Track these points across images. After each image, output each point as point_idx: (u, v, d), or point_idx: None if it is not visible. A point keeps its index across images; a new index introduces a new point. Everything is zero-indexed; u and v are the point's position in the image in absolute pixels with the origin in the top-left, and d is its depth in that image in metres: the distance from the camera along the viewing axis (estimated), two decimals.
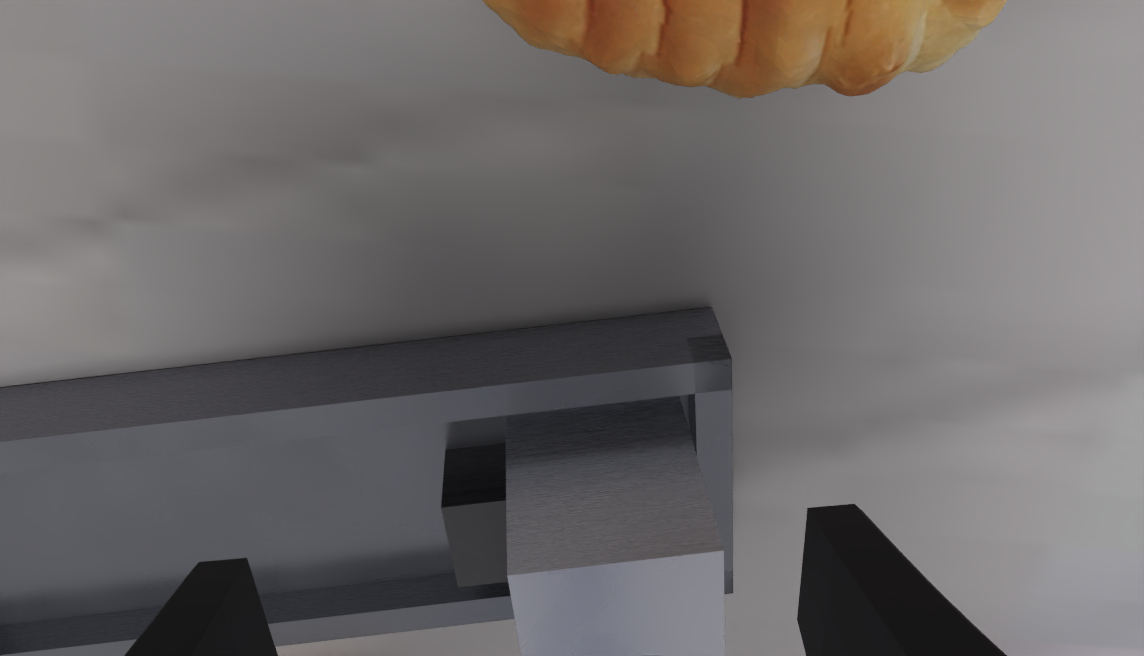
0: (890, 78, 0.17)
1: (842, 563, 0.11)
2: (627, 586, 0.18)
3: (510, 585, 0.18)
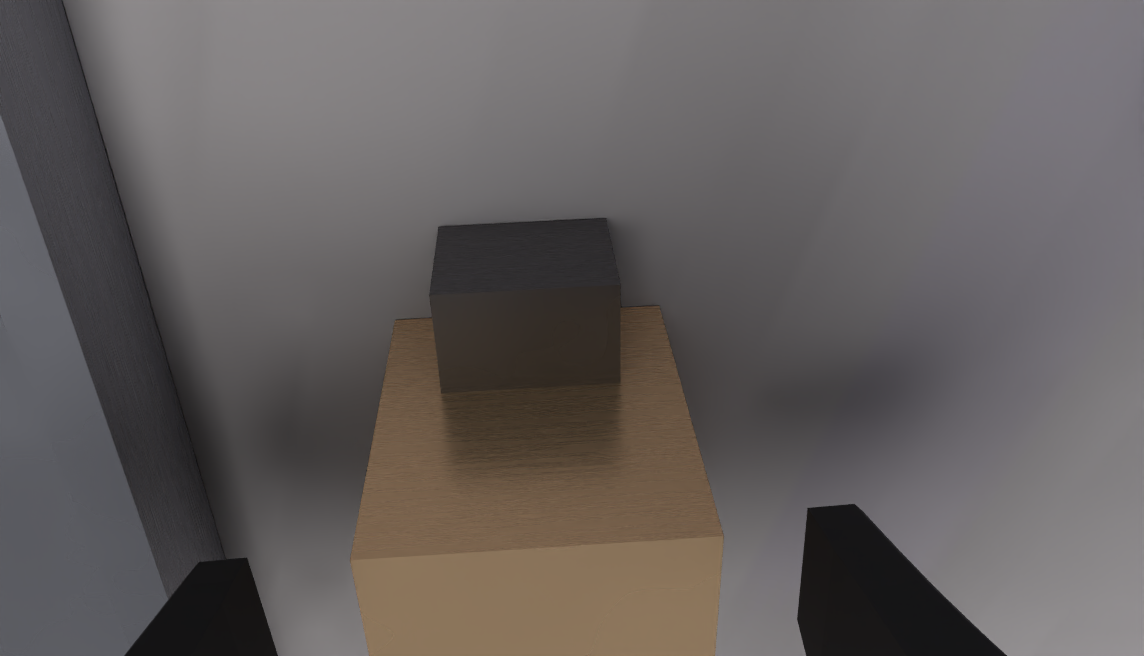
0: None
1: (842, 563, 0.11)
2: None
3: None
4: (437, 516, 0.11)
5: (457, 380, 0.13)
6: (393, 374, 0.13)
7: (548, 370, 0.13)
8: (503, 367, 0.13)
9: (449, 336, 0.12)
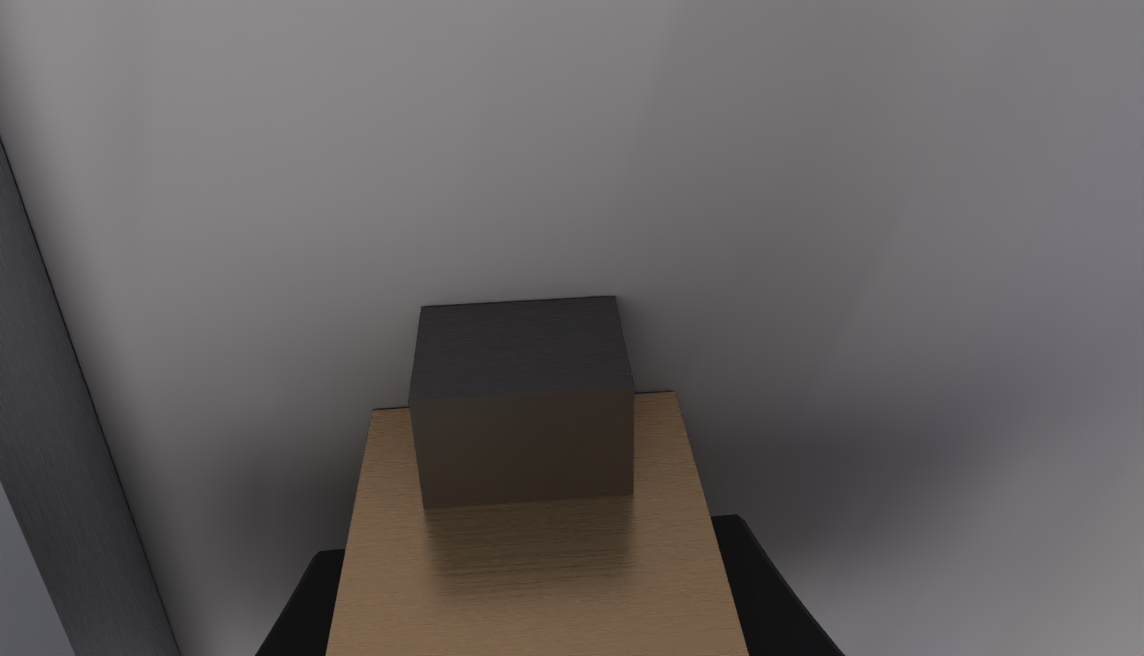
0: None
1: None
2: None
3: None
4: None
5: (442, 494, 0.11)
6: (368, 483, 0.11)
7: (549, 482, 0.11)
8: (496, 479, 0.11)
9: (432, 446, 0.10)
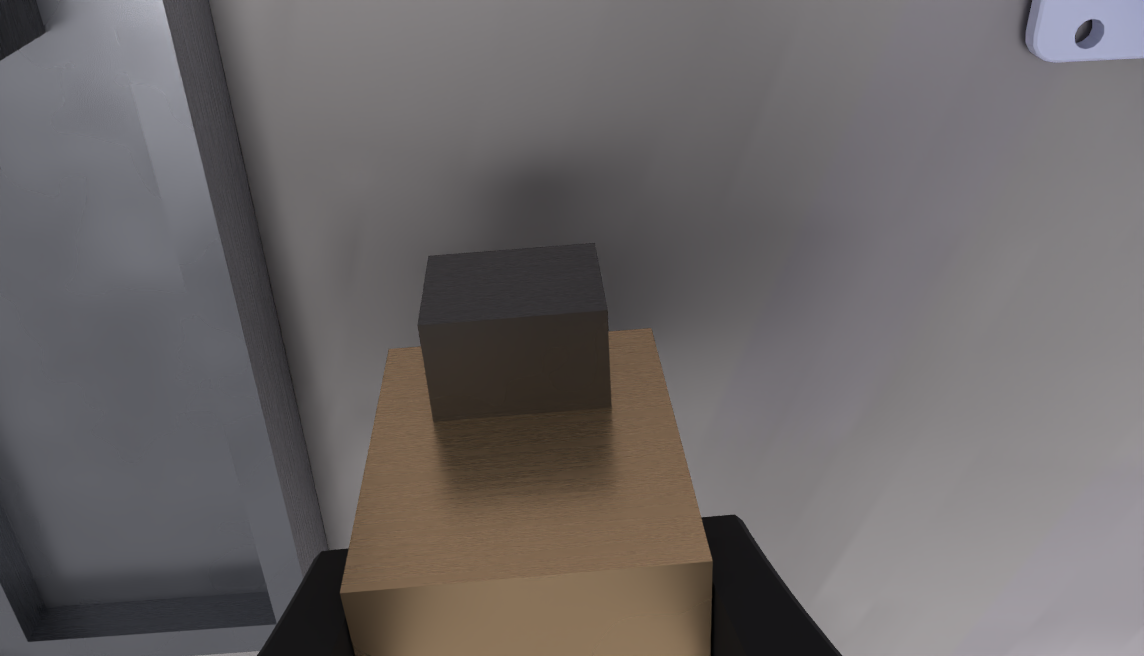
0: None
1: None
2: None
3: None
4: (426, 546, 0.11)
5: (448, 408, 0.13)
6: (386, 404, 0.13)
7: (539, 396, 0.13)
8: (494, 395, 0.13)
9: (439, 365, 0.12)
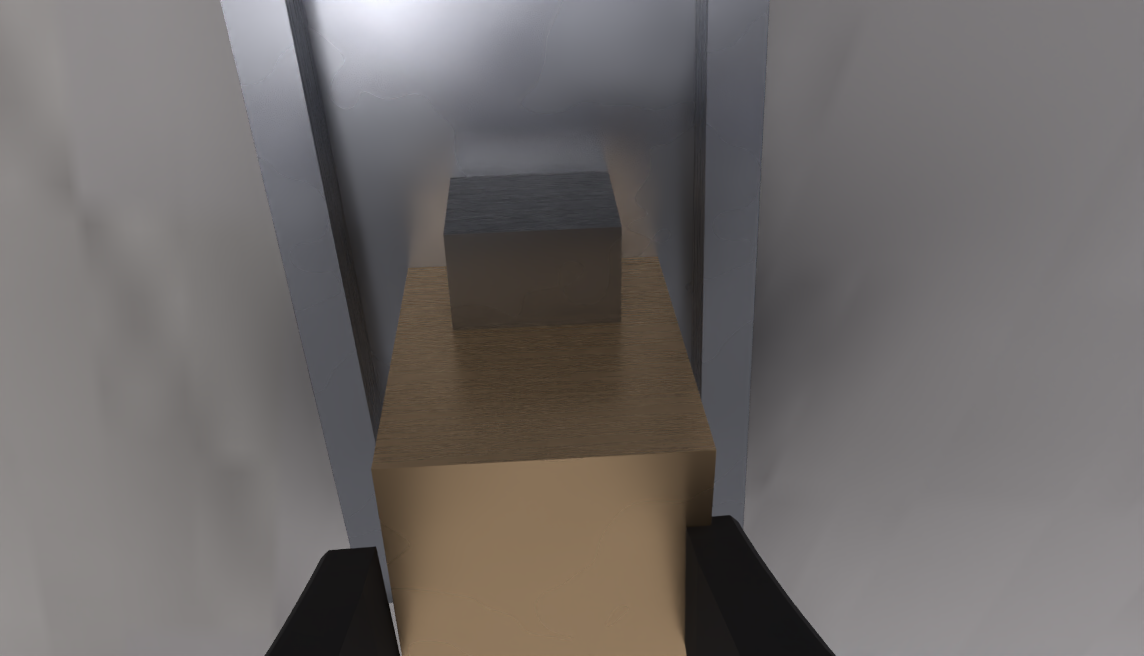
0: None
1: (703, 576, 0.11)
2: None
3: None
4: (451, 433, 0.12)
5: (468, 318, 0.14)
6: (407, 314, 0.14)
7: (553, 309, 0.14)
8: (511, 306, 0.13)
9: (461, 275, 0.13)
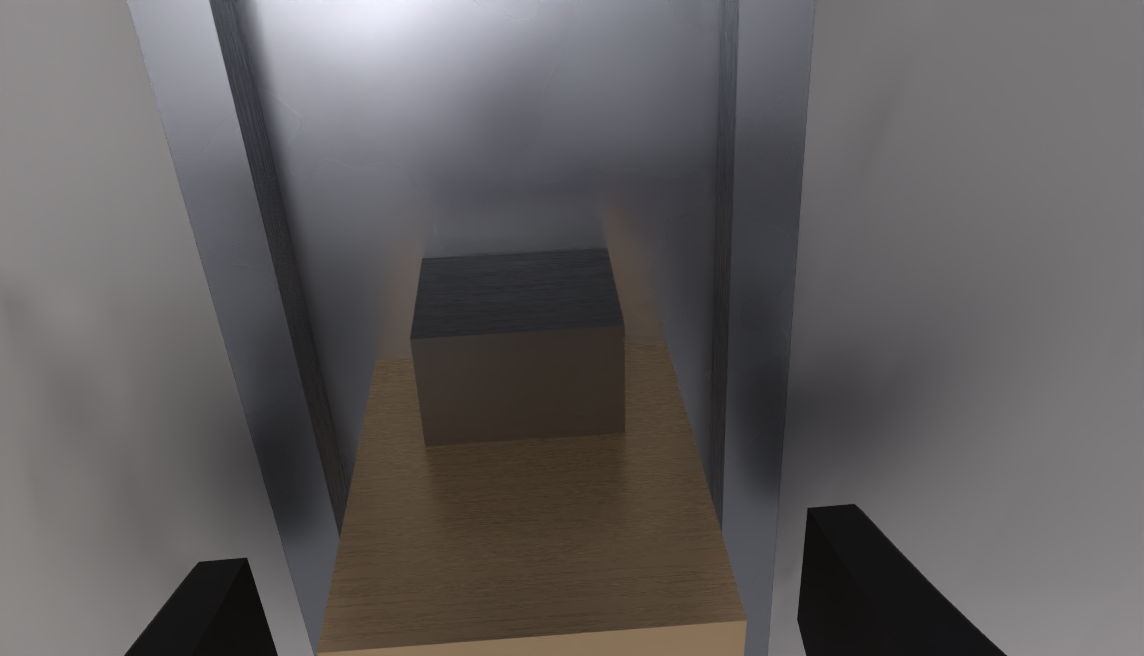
0: None
1: (842, 563, 0.11)
2: None
3: None
4: (417, 596, 0.09)
5: (442, 432, 0.11)
6: (372, 424, 0.12)
7: (544, 420, 0.11)
8: (494, 417, 0.11)
9: (433, 384, 0.11)
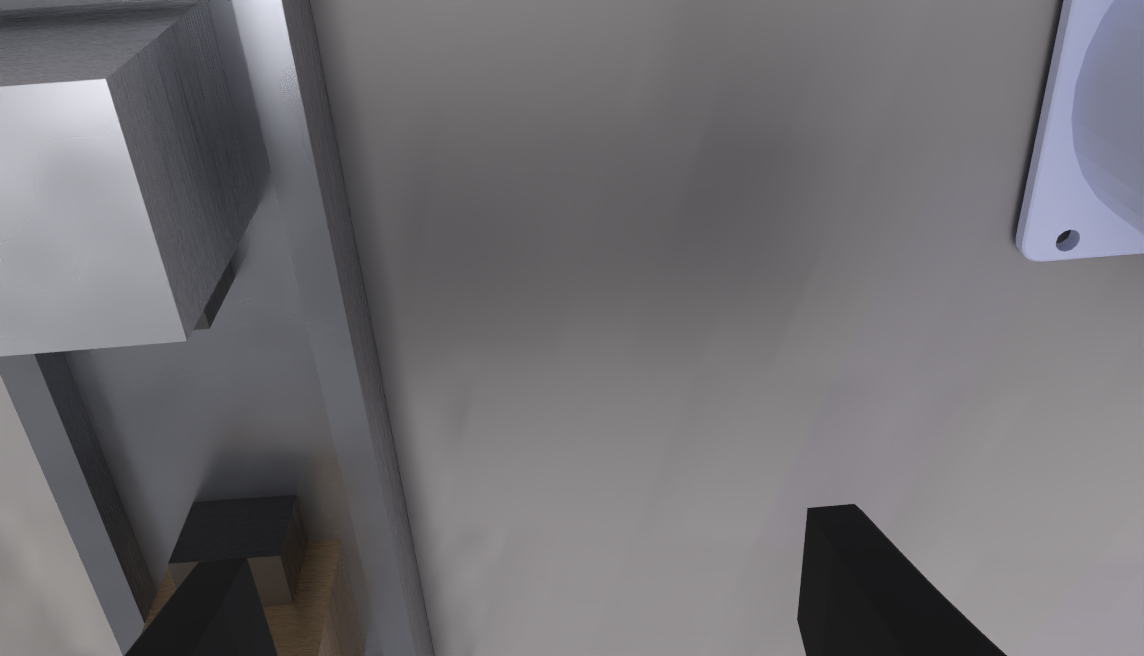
0: None
1: (842, 563, 0.11)
2: None
3: None
4: None
5: None
6: (160, 597, 0.22)
7: None
8: None
9: None
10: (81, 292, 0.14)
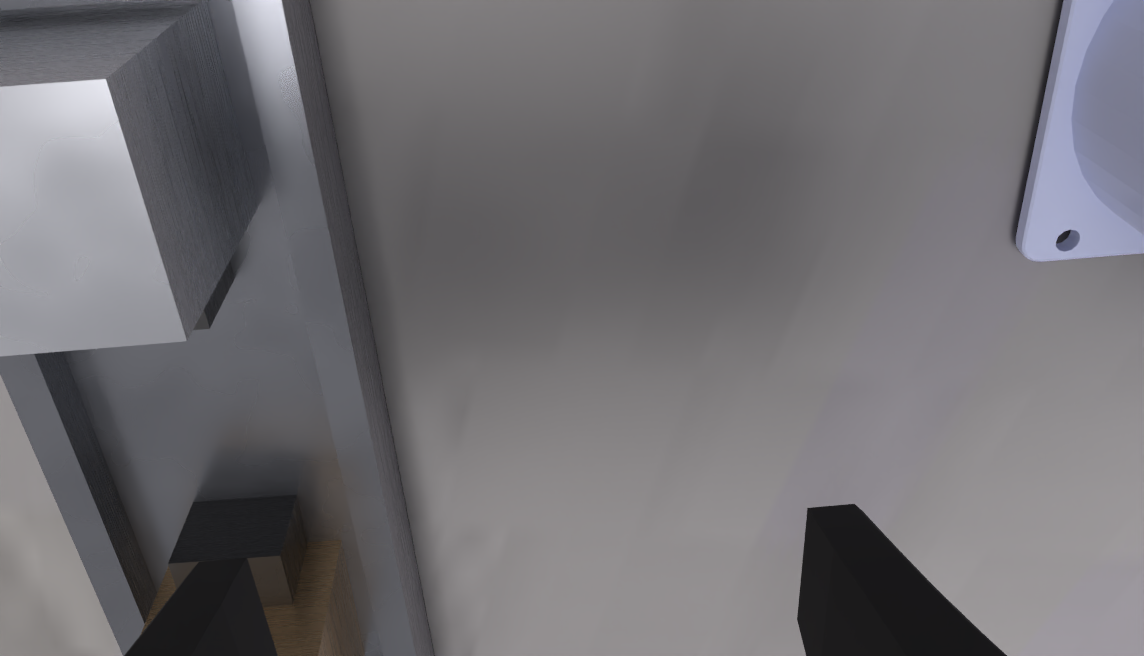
0: None
1: (842, 563, 0.11)
2: None
3: None
4: None
5: None
6: (160, 597, 0.22)
7: None
8: None
9: None
10: (81, 292, 0.14)
